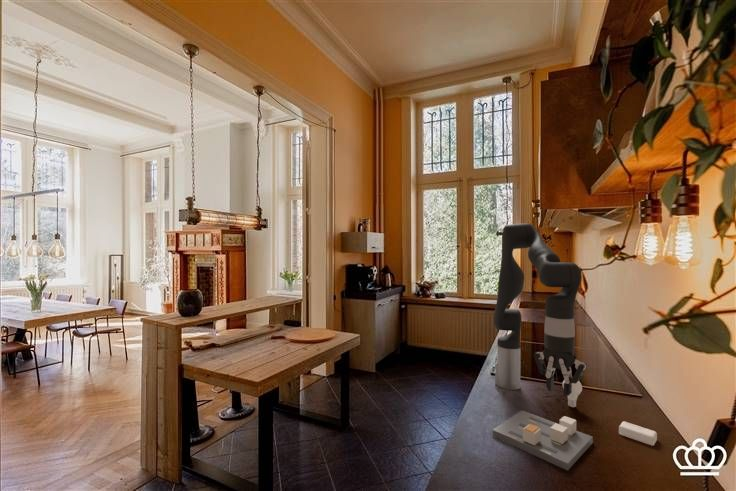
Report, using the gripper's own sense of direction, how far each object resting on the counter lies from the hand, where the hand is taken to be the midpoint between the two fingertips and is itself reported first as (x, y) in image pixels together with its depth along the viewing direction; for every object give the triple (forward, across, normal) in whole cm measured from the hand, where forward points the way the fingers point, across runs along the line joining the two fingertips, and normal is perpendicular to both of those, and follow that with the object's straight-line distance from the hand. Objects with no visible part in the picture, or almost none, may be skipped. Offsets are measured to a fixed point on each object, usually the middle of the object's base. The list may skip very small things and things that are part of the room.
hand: (558, 392), depth 98 cm
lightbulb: (+19, -10, +38) cm, 44 cm away
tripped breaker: (+17, -8, 0) cm, 18 cm away
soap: (+20, +12, +32) cm, 39 cm away
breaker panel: (+19, -8, +7) cm, 22 cm away
